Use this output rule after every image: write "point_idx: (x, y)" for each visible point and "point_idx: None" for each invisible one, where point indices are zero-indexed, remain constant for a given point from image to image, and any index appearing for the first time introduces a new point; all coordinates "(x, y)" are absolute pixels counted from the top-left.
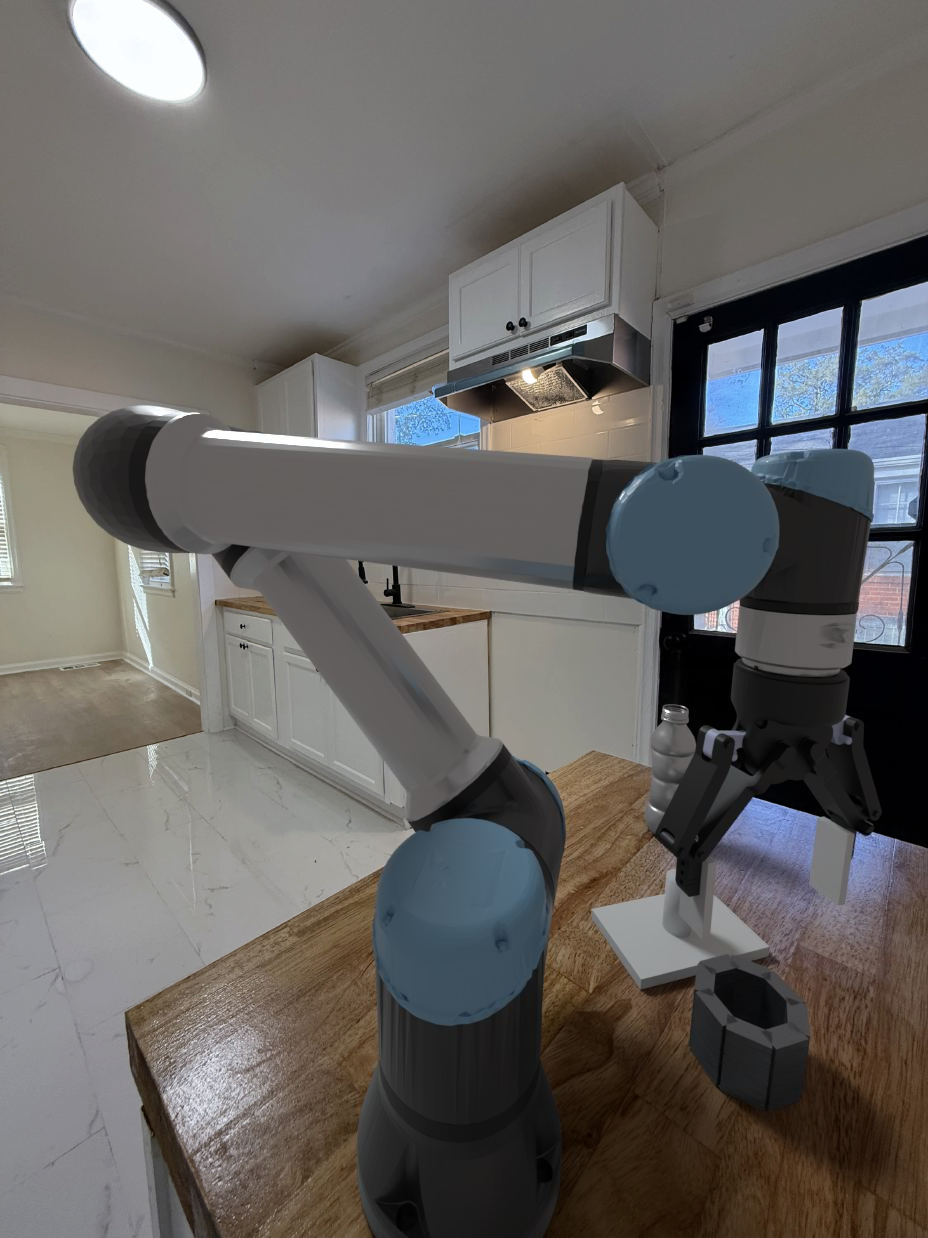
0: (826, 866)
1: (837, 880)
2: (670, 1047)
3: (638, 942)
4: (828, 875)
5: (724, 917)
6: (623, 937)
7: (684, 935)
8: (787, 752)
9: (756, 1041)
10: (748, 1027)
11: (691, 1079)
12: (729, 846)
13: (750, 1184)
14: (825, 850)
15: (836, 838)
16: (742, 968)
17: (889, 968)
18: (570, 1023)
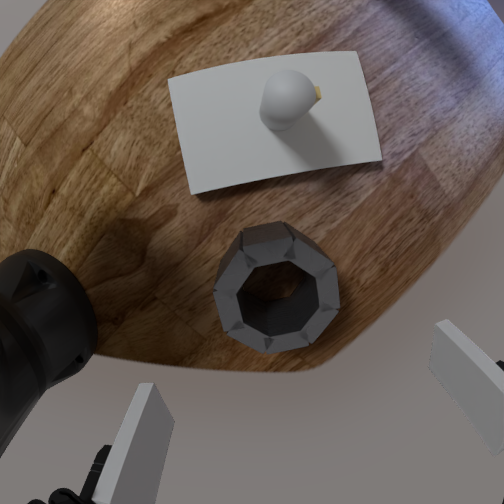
0: (460, 379)
1: (449, 388)
2: (201, 260)
3: (211, 136)
4: (452, 374)
5: (354, 106)
6: (192, 128)
7: (281, 130)
8: None
9: (251, 346)
10: (252, 334)
11: (209, 289)
12: (418, 4)
13: (220, 353)
14: (478, 394)
15: (492, 432)
16: (297, 261)
17: (468, 194)
18: (111, 231)
